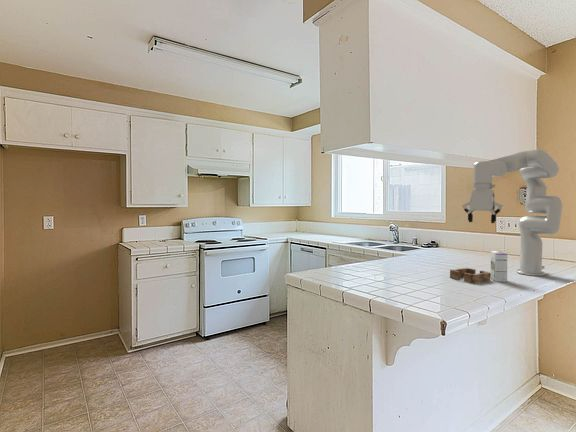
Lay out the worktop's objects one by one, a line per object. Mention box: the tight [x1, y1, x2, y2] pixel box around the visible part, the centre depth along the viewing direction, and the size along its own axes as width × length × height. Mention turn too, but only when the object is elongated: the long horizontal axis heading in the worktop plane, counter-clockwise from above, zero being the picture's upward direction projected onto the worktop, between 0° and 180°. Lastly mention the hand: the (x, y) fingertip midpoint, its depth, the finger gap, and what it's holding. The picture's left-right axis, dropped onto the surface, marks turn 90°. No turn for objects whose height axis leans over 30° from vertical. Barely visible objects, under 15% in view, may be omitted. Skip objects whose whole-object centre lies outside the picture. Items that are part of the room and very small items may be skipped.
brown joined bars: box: [449, 267, 491, 284], centre depth 167 cm, size 14×14×4 cm
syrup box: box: [490, 250, 508, 283], centre depth 164 cm, size 6×6×14 cm
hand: (481, 222), depth 160 cm, fingers open, 9 cm apart
